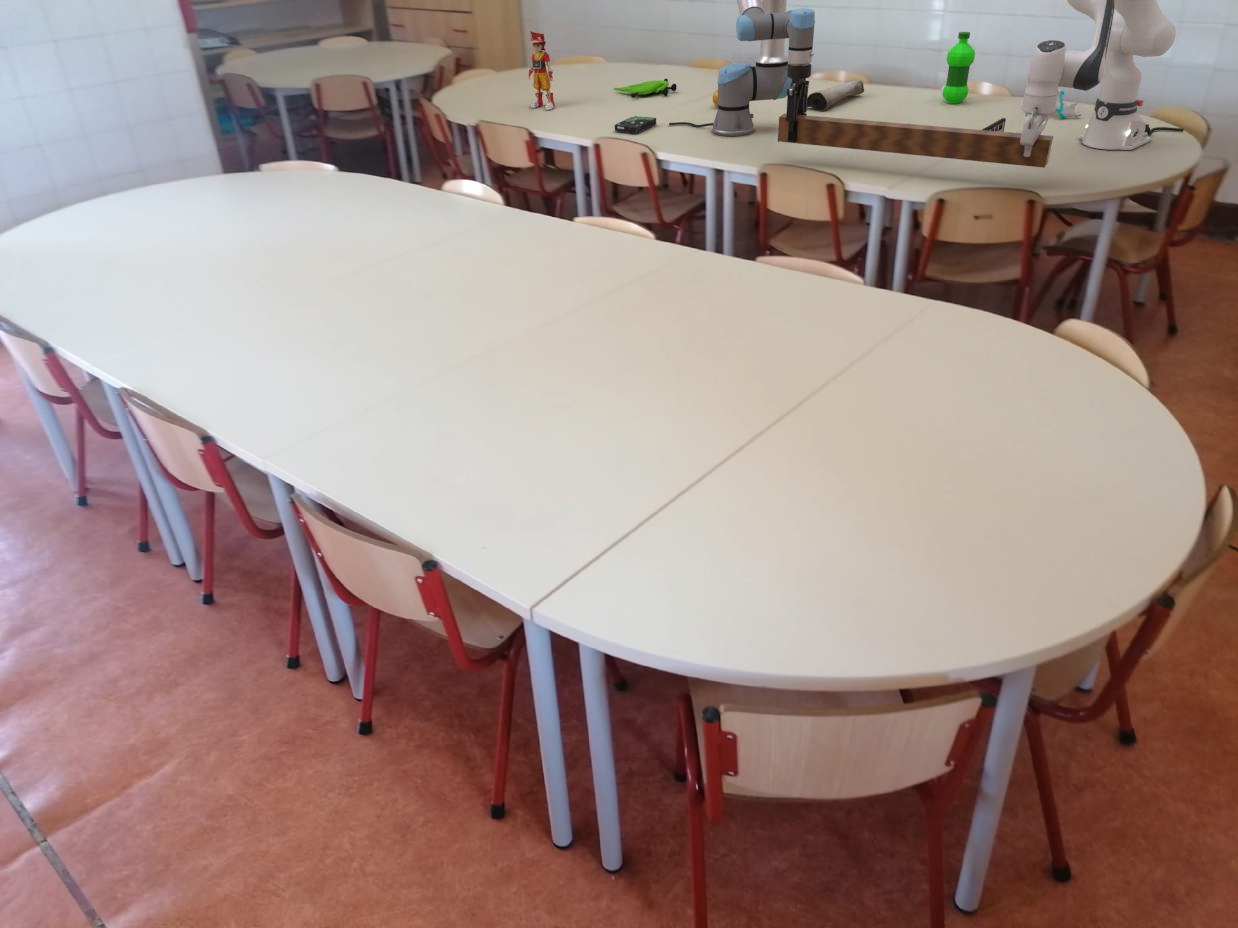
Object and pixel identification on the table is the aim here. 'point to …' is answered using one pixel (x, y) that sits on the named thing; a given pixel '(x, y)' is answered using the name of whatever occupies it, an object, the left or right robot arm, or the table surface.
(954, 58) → the plastic bottle
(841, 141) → the bar
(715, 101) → the fruit
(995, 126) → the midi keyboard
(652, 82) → the toy
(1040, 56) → the right robot arm
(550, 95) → the toy
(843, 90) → the rolled mat
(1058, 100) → the anatomical model
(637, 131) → the disk drive
